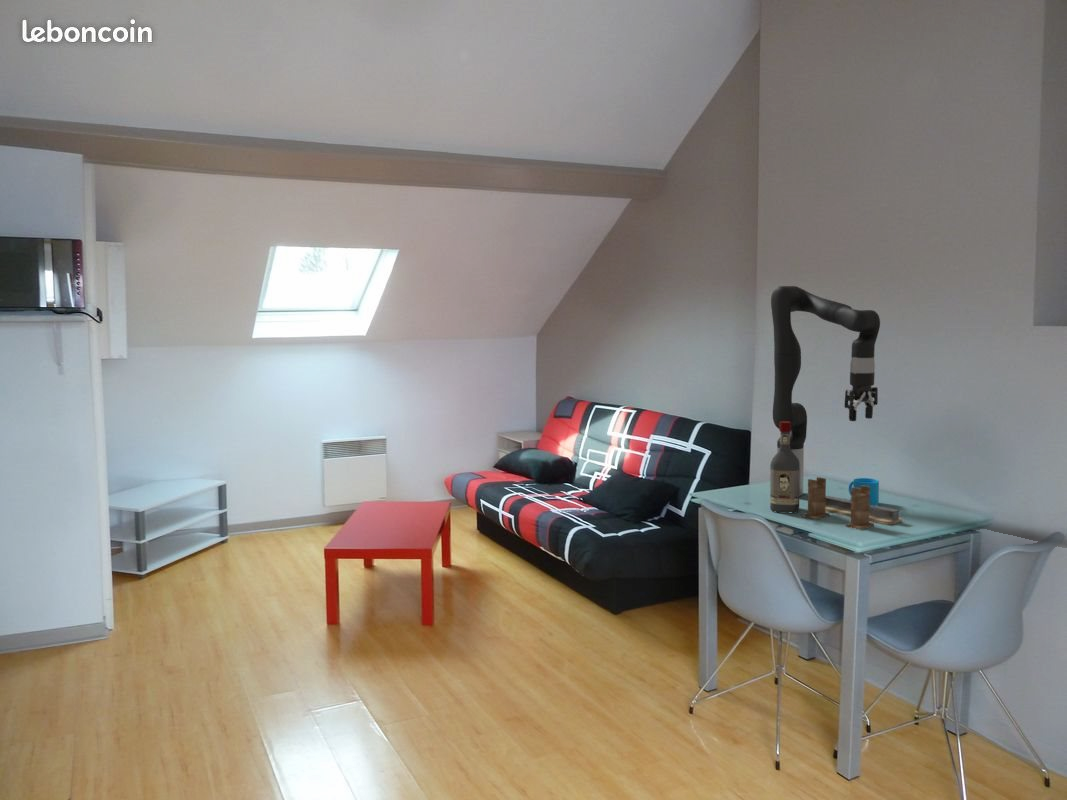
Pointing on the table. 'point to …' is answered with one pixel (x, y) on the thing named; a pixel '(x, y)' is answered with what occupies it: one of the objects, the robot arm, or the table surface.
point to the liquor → (784, 475)
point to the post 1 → (816, 498)
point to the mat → (872, 519)
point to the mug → (871, 483)
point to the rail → (873, 509)
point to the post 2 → (860, 507)
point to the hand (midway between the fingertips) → (860, 419)
